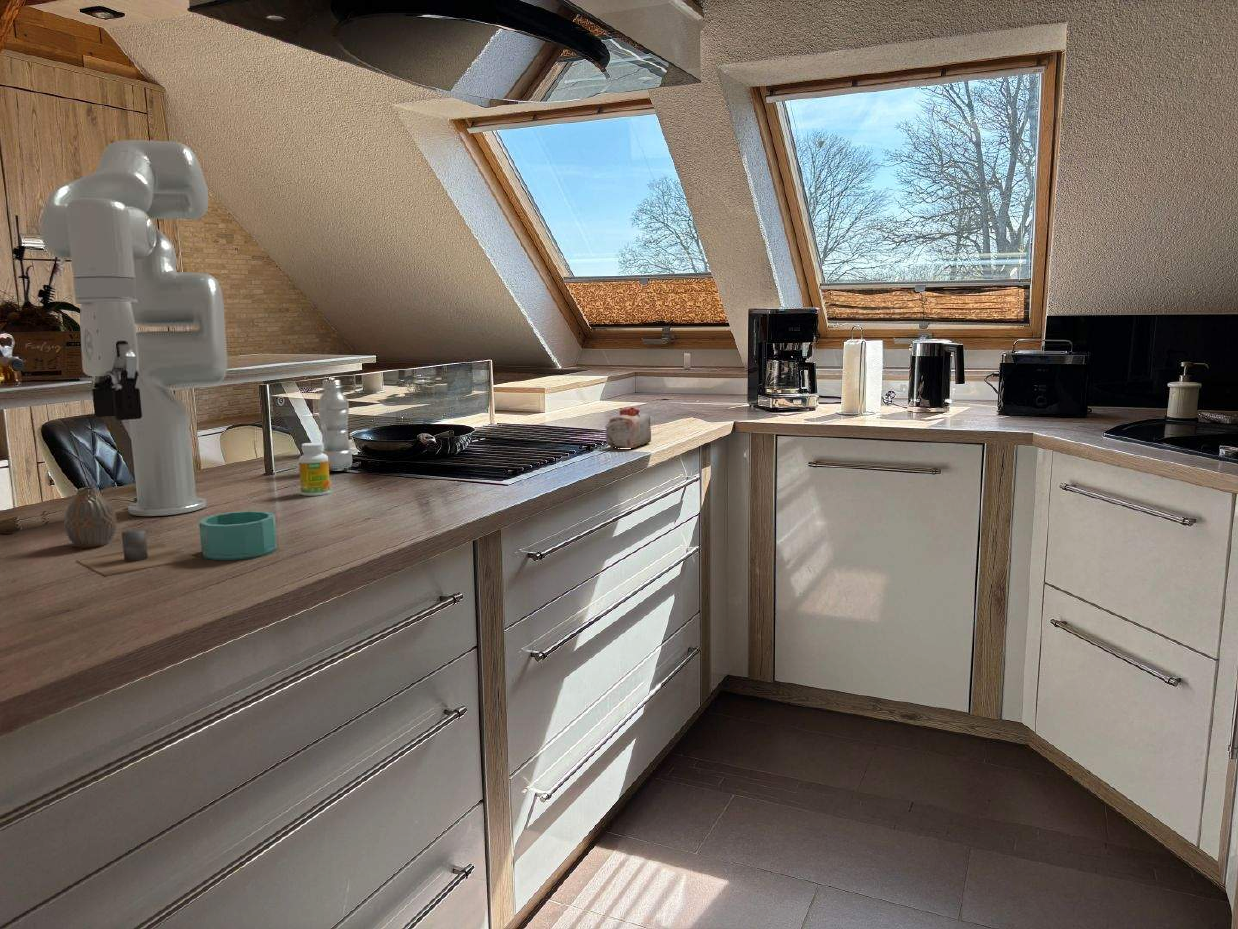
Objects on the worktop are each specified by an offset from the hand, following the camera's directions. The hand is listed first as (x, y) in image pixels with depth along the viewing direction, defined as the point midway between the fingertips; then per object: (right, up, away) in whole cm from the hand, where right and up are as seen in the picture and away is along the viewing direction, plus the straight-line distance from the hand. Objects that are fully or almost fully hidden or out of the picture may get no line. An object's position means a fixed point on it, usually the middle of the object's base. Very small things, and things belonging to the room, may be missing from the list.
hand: (118, 417), depth 132 cm
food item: (+72, -2, +107) cm, 129 cm away
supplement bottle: (+11, -12, +51) cm, 54 cm away
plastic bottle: (+8, -8, +76) cm, 77 cm away
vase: (-11, -19, +13) cm, 26 cm away
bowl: (+14, -19, +7) cm, 25 cm away
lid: (+1, -21, +4) cm, 21 cm away
